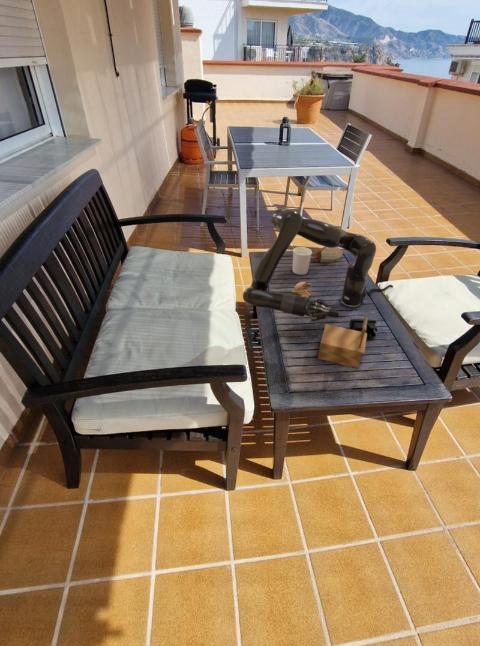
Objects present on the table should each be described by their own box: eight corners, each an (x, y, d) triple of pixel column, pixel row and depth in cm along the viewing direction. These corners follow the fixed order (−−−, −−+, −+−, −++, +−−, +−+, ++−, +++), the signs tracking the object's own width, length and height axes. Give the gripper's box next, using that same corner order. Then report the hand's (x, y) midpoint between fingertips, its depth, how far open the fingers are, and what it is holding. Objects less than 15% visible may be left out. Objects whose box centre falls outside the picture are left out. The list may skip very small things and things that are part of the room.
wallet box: (360, 348, 159) (364, 334, 155) (357, 368, 149) (361, 354, 145) (323, 339, 162) (325, 325, 158) (317, 358, 153) (320, 344, 148)
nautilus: (305, 266, 215) (302, 255, 228) (344, 265, 215) (339, 254, 228) (306, 253, 211) (303, 242, 224) (346, 252, 211) (340, 241, 224)
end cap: (370, 329, 170) (374, 316, 166) (375, 339, 164) (379, 326, 160) (348, 328, 169) (351, 316, 165) (351, 339, 163) (355, 326, 160)
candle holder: (309, 276, 206) (312, 255, 199) (291, 275, 205) (293, 254, 199) (308, 267, 214) (310, 247, 207) (290, 266, 214) (292, 246, 207)
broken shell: (315, 302, 186) (306, 294, 179) (296, 306, 191) (287, 298, 184) (314, 285, 190) (306, 277, 182) (296, 289, 195) (287, 281, 188)
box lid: (366, 334, 155) (372, 314, 149) (364, 354, 145) (369, 334, 139) (325, 325, 158) (329, 305, 153) (320, 344, 148) (324, 324, 143)
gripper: (290, 305, 143) (338, 316, 139) (298, 288, 153) (342, 297, 149) (288, 322, 147) (334, 332, 143) (296, 303, 157) (339, 313, 153)
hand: (338, 314), depth 146 cm, fingers closed
